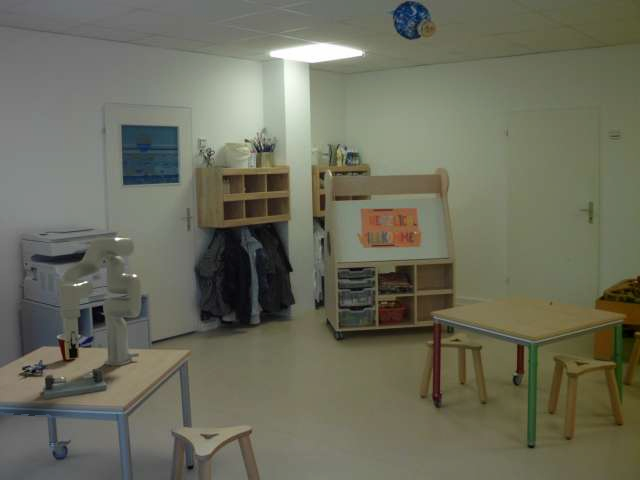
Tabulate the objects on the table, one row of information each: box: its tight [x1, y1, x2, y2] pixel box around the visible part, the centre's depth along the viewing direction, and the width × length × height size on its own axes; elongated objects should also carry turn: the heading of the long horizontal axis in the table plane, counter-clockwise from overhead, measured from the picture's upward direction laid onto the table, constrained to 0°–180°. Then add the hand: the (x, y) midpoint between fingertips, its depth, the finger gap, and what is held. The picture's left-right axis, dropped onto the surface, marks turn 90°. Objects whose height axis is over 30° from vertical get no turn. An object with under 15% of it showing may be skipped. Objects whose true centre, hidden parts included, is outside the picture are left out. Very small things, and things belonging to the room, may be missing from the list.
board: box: [42, 378, 108, 400], centre depth 288 cm, size 24×11×2 cm, turn 117°
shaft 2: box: [81, 367, 104, 383], centre depth 291 cm, size 8×4×5 cm, turn 132°
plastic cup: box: [56, 333, 81, 362], centre depth 334 cm, size 11×11×12 cm
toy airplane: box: [19, 359, 49, 378], centre depth 312 cm, size 13×14×4 cm
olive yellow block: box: [65, 340, 80, 360], centre depth 286 cm, size 5×4×7 cm
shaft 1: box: [44, 374, 67, 390], centre depth 285 cm, size 8×4×5 cm, turn 102°
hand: (72, 356), depth 286 cm, fingers closed on olive yellow block, 4 cm apart
